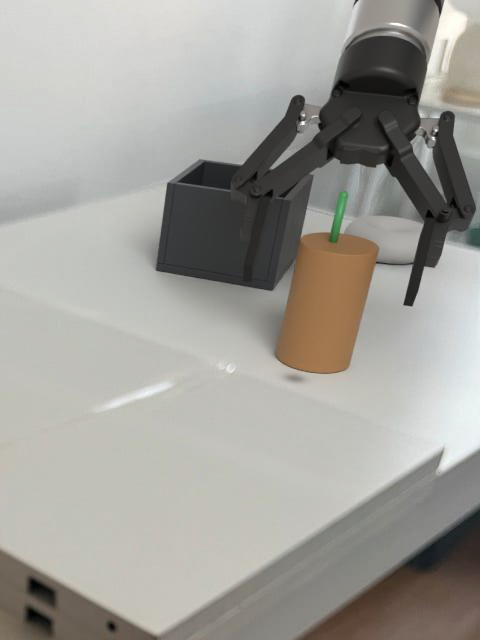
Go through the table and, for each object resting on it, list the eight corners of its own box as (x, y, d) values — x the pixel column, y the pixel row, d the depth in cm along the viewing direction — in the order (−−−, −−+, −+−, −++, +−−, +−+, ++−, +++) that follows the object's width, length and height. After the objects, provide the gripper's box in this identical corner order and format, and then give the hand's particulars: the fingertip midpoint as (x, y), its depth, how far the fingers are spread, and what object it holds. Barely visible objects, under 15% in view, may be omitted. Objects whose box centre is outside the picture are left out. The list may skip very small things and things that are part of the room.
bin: (296, 258, 115) (314, 174, 110) (272, 290, 106) (290, 200, 101) (187, 240, 119) (199, 158, 114) (155, 270, 110) (166, 182, 104)
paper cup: (361, 359, 92) (404, 193, 83) (331, 379, 88) (373, 207, 79) (295, 340, 95) (331, 178, 86) (263, 359, 91) (297, 191, 82)
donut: (364, 237, 124) (324, 252, 118) (372, 207, 122) (331, 220, 116) (444, 257, 118) (406, 273, 112) (453, 226, 116) (415, 240, 110)
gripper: (523, 106, 90) (471, 329, 88) (239, 77, 96) (184, 285, 94) (549, 44, 83) (494, 286, 81) (241, 17, 89) (181, 241, 87)
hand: (327, 286), depth 87 cm, fingers open, 13 cm apart
